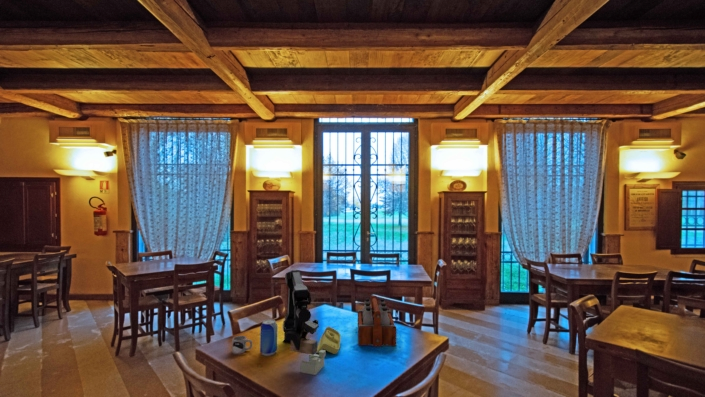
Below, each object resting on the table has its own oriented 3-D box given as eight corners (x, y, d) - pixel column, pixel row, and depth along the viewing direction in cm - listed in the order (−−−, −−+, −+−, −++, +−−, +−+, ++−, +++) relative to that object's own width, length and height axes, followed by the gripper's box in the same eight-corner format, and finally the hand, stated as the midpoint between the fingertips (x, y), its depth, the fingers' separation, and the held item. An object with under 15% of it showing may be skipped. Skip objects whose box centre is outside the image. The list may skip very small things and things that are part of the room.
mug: (230, 354, 163) (230, 341, 164) (234, 348, 170) (234, 335, 170) (250, 353, 164) (250, 340, 164) (253, 348, 171) (253, 335, 171)
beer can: (280, 350, 168) (280, 319, 168) (270, 357, 160) (271, 325, 160) (266, 348, 171) (266, 317, 171) (256, 354, 163) (257, 323, 163)
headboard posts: (300, 372, 146) (300, 357, 146) (310, 362, 155) (310, 347, 156) (316, 375, 143) (316, 360, 143) (325, 365, 153) (325, 350, 153)
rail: (290, 350, 151) (290, 340, 151) (294, 347, 155) (294, 336, 155) (313, 354, 147) (313, 343, 147) (317, 351, 151) (317, 340, 151)
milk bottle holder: (358, 348, 172) (358, 311, 173) (357, 324, 207) (357, 294, 208) (397, 348, 172) (397, 312, 173) (390, 325, 207) (390, 295, 208)
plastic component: (339, 350, 164) (321, 341, 164) (332, 363, 164) (315, 354, 164) (341, 332, 184) (325, 324, 184) (335, 343, 184) (320, 336, 184)
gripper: (306, 323, 141) (306, 359, 140) (324, 311, 158) (323, 343, 158) (284, 320, 144) (284, 355, 144) (304, 308, 162) (303, 339, 162)
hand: (300, 348), depth 152 cm, fingers closed on rail, 4 cm apart
